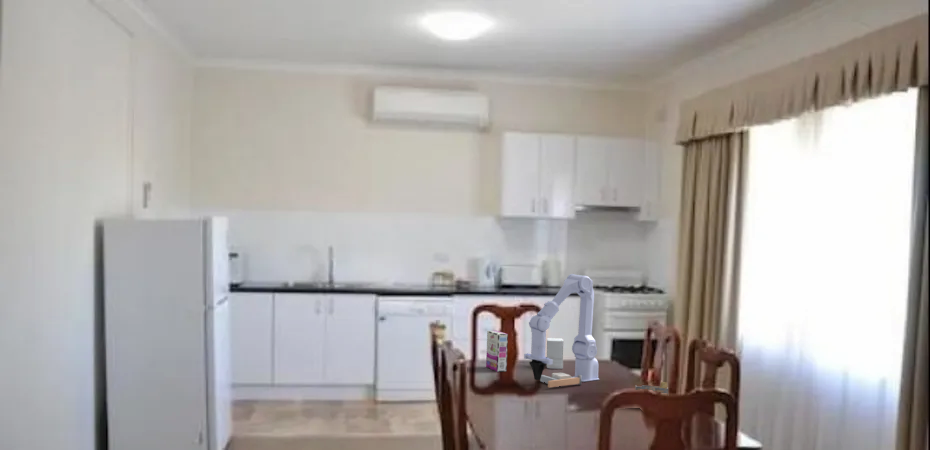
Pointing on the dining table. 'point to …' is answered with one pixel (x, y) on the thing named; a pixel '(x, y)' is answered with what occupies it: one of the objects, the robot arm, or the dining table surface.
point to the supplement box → (555, 352)
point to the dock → (549, 379)
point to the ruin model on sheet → (655, 388)
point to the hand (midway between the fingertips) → (537, 379)
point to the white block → (560, 376)
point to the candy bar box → (497, 351)
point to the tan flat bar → (565, 382)
